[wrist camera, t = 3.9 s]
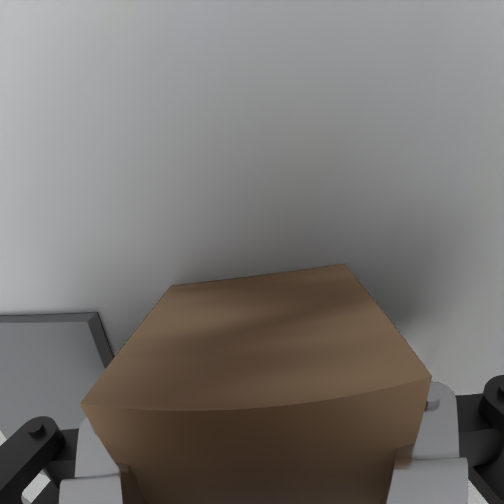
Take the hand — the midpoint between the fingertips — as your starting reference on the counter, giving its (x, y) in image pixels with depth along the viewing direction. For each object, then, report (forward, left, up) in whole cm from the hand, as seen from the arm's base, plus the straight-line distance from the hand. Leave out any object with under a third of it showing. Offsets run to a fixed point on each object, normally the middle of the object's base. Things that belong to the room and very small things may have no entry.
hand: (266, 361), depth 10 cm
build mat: (+12, +4, -1) cm, 13 cm away
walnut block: (0, 0, -1) cm, 1 cm away
